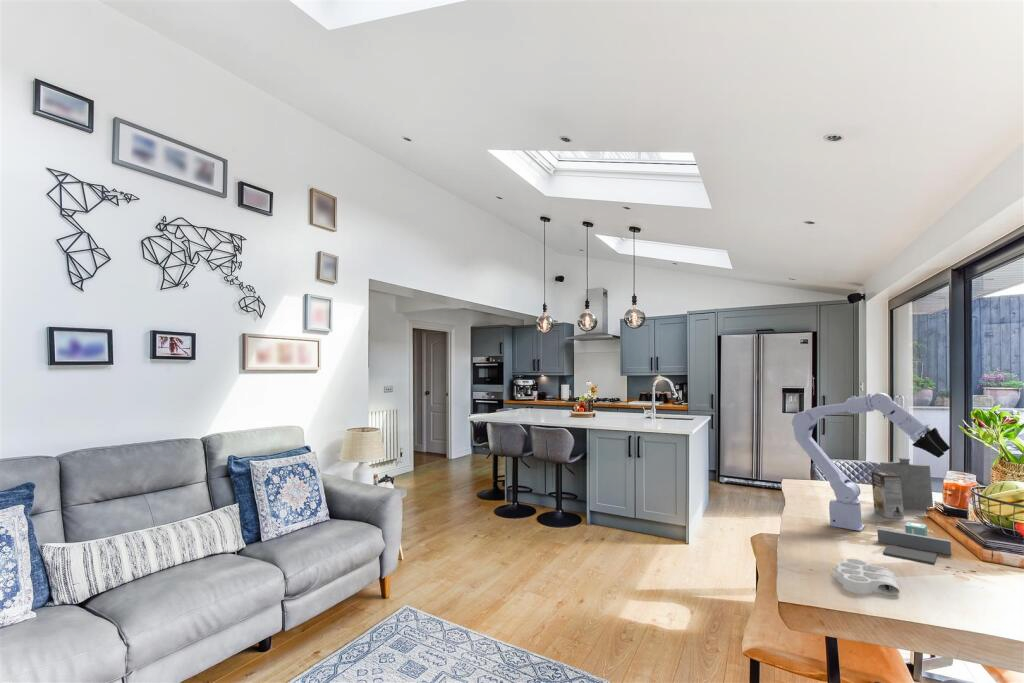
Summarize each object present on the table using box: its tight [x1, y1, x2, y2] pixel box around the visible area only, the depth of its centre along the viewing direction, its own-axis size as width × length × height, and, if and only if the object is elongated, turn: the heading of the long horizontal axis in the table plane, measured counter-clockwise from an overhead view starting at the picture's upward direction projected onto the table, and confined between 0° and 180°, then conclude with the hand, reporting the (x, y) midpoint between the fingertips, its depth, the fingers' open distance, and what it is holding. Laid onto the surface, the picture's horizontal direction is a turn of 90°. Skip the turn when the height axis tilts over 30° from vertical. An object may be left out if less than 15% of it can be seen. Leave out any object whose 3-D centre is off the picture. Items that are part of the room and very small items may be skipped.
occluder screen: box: [876, 527, 952, 556], centre depth 155 cm, size 18×2×4 cm, turn 45°
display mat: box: [882, 544, 938, 565], centre depth 149 cm, size 12×9×1 cm
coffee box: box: [871, 470, 905, 520], centre depth 188 cm, size 9×6×16 cm
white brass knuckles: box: [830, 557, 901, 596], centre depth 132 cm, size 3×18×15 cm
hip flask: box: [879, 457, 934, 511], centre depth 197 cm, size 16×4×20 cm, turn 57°
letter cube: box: [904, 521, 928, 536], centre depth 161 cm, size 5×5×5 cm
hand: (944, 452), depth 158 cm, fingers open, 7 cm apart
